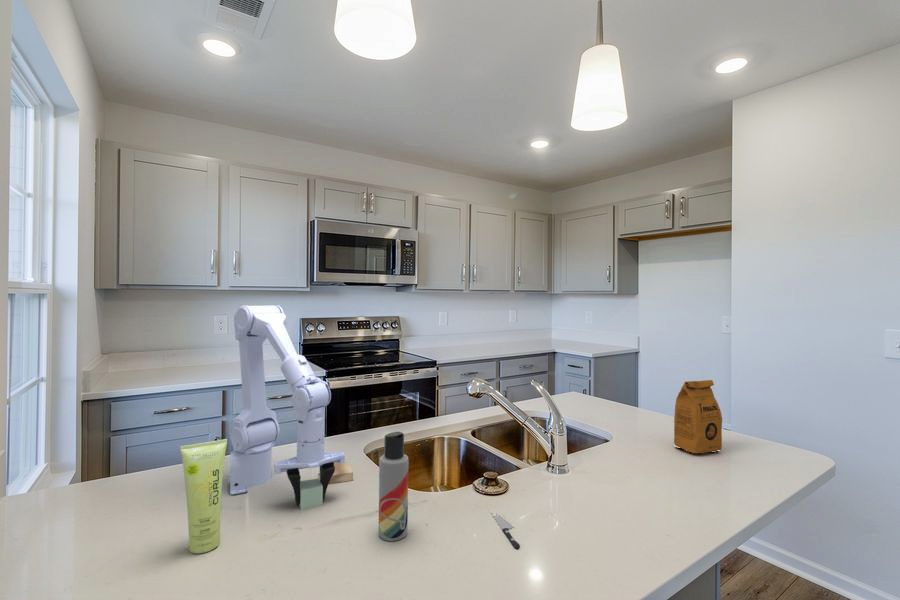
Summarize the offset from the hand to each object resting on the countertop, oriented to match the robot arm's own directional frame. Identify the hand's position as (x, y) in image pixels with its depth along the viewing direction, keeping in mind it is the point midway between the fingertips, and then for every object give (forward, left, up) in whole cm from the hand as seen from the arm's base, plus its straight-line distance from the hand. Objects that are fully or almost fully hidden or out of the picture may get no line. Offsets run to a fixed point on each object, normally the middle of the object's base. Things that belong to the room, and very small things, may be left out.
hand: (309, 500), depth 94 cm
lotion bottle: (+13, -17, -2) cm, 22 cm away
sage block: (0, 0, -2) cm, 2 cm away
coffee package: (+114, -14, -2) cm, 115 cm away
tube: (-20, -6, -2) cm, 21 cm away
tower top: (+8, +11, -1) cm, 13 cm away
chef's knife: (+35, -23, -3) cm, 42 cm away
